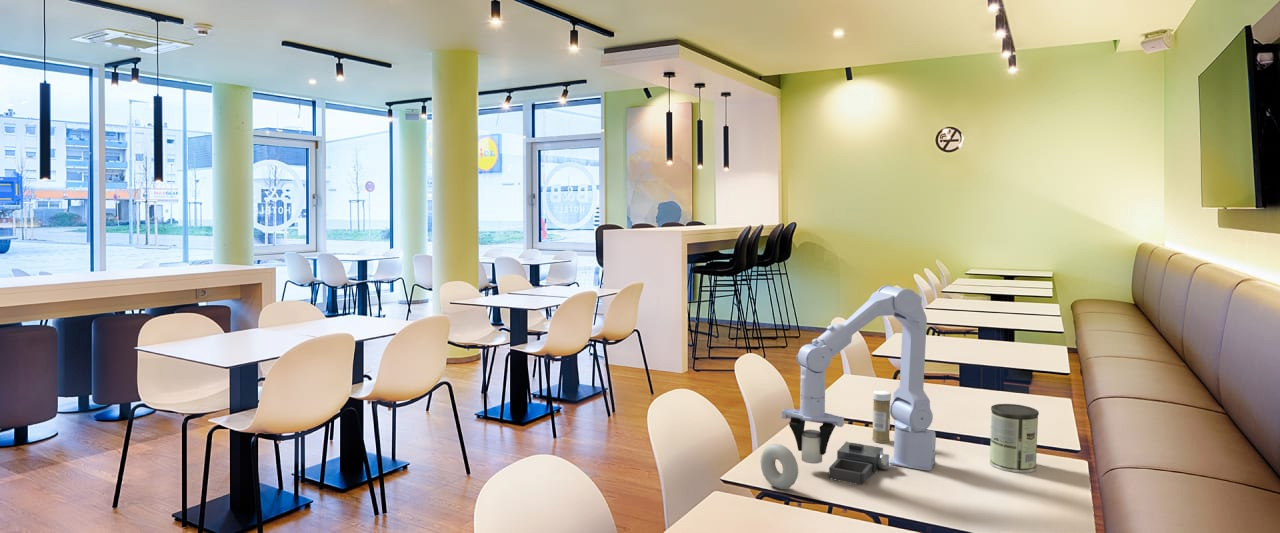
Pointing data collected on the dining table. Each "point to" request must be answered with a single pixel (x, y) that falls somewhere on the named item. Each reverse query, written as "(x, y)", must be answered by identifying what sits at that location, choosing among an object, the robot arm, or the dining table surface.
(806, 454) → the white gray cylinder
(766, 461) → the donut
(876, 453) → the drawer
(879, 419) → the sprinkles bottle
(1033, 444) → the coffee can
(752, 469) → the dining table surface
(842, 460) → the dark grey square tray
